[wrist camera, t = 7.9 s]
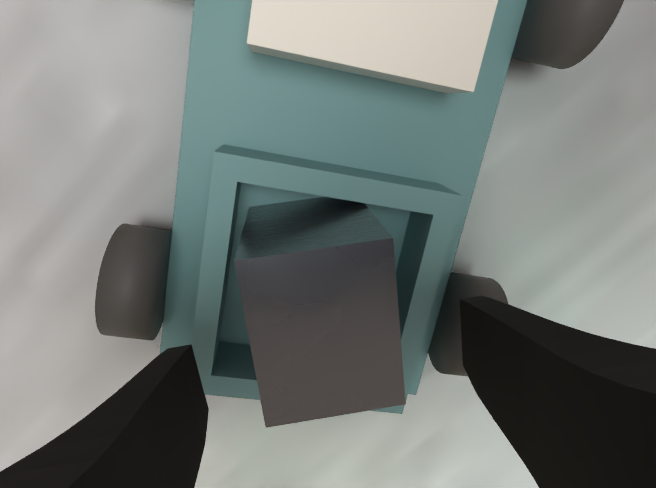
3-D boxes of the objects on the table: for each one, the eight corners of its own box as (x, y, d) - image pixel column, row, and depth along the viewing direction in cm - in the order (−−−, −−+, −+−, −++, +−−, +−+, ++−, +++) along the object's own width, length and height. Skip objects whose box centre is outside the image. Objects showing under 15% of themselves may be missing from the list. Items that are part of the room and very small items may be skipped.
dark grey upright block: (355, 192, 17) (393, 238, 11) (367, 311, 19) (405, 404, 13) (249, 206, 17) (234, 261, 11) (270, 326, 18) (265, 427, 13)
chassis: (586, -107, 16) (681, -171, 12) (440, 382, 22) (475, 442, 18) (170, -232, 14) (128, -356, 10) (127, 347, 19) (89, 407, 16)
